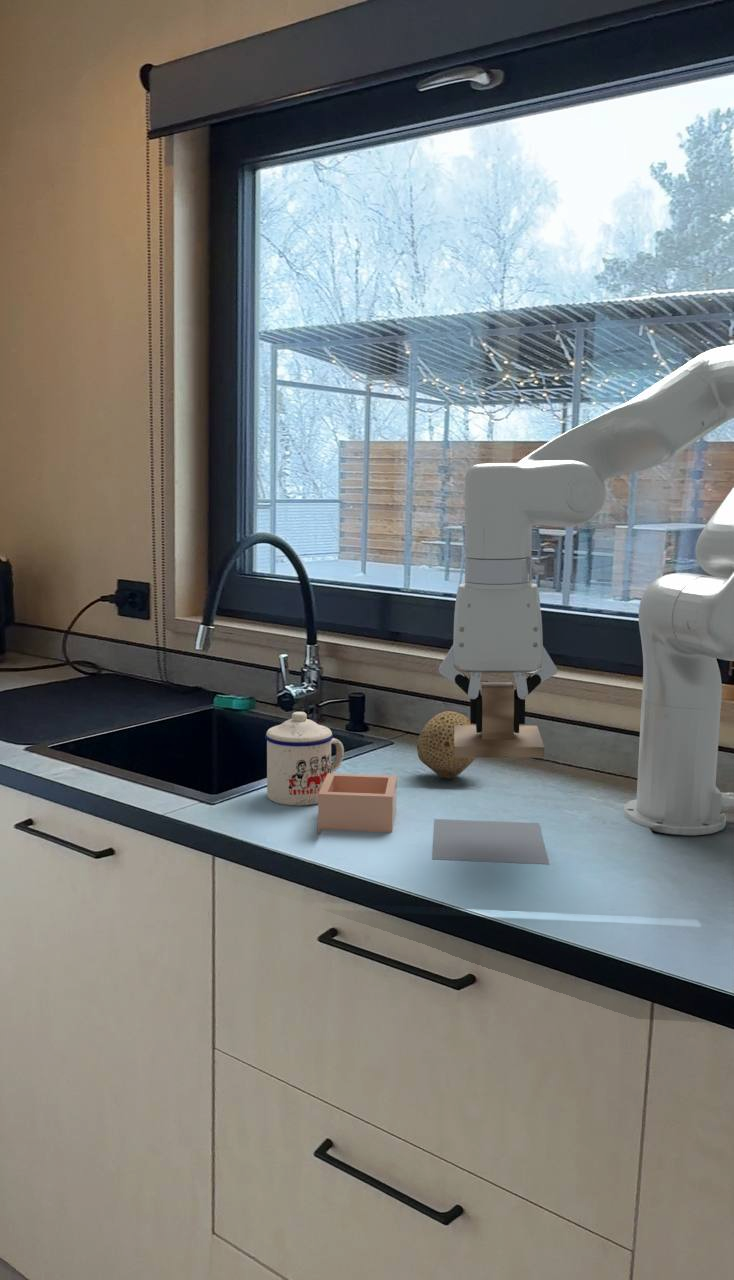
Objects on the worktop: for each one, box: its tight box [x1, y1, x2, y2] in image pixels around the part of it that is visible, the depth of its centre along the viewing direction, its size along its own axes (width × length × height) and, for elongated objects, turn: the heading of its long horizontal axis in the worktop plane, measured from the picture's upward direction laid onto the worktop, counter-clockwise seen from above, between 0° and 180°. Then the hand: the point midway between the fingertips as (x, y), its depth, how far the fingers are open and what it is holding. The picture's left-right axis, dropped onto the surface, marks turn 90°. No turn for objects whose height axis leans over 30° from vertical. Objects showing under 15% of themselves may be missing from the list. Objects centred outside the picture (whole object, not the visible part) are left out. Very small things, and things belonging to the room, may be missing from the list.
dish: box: [317, 772, 398, 835], centre depth 128 cm, size 9×9×5 cm
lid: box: [454, 681, 545, 759], centre depth 119 cm, size 10×10×7 cm
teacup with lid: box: [264, 711, 345, 807], centre depth 139 cm, size 12×9×12 cm
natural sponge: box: [416, 710, 476, 780], centre depth 147 cm, size 9×9×10 cm
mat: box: [431, 818, 550, 866], centre depth 121 cm, size 13×14×1 cm
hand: (497, 728), depth 119 cm, fingers closed on lid, 3 cm apart
